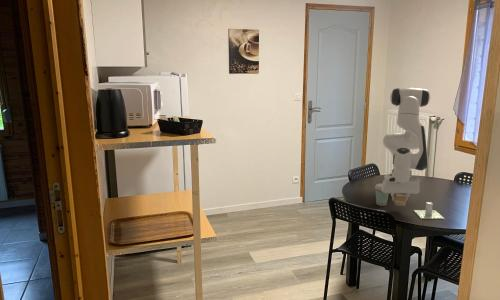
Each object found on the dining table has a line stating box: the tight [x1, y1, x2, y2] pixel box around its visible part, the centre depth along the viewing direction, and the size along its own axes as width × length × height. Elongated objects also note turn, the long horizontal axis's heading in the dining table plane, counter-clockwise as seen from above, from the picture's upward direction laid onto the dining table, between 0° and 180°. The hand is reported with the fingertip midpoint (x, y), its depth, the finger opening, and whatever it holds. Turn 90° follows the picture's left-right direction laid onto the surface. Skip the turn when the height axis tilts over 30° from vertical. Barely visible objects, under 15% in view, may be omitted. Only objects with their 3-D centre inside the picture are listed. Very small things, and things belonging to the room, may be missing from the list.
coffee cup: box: [374, 182, 390, 207], centre depth 225 cm, size 8×8×12 cm
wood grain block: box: [392, 193, 407, 207], centre depth 214 cm, size 5×5×7 cm
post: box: [413, 201, 445, 220], centre depth 208 cm, size 12×12×7 cm
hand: (399, 200), depth 214 cm, fingers closed on wood grain block, 5 cm apart
